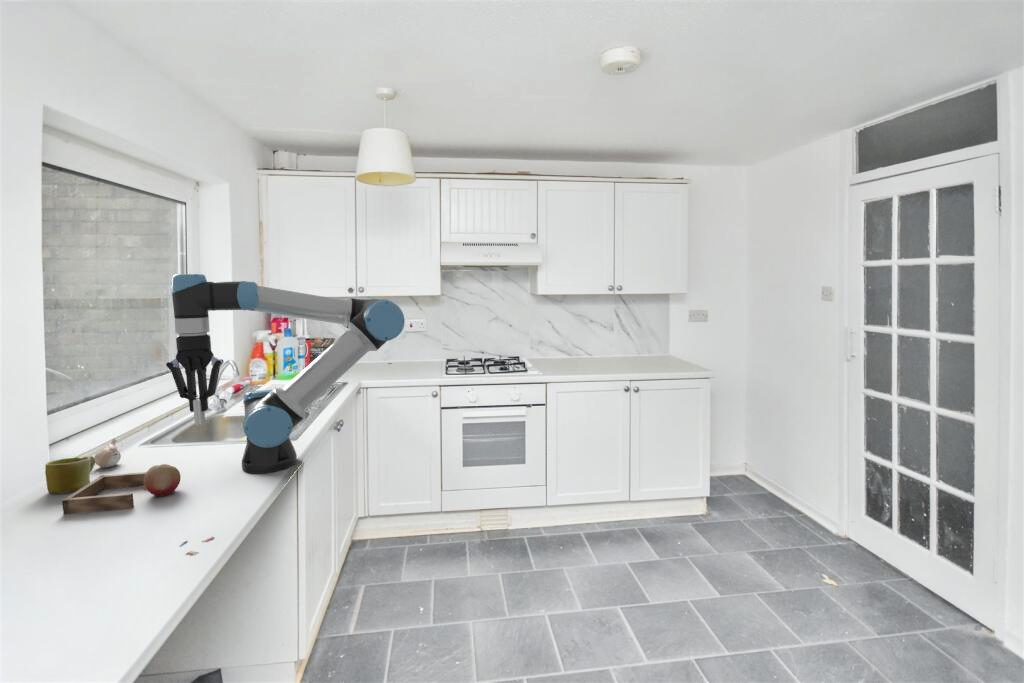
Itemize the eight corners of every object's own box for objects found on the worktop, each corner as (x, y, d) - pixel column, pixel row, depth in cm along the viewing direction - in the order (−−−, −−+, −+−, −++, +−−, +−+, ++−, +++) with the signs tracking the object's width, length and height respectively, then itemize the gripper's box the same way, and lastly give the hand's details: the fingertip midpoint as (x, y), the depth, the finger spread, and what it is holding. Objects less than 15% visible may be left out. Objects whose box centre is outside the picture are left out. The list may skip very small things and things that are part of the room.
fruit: (189, 489, 136) (186, 461, 136) (159, 502, 129) (157, 471, 128) (167, 486, 139) (165, 457, 138) (137, 497, 132) (134, 468, 131)
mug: (65, 492, 131) (60, 454, 132) (36, 501, 133) (32, 463, 134) (113, 483, 142) (108, 448, 144) (86, 492, 145) (81, 457, 146)
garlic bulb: (125, 465, 156) (123, 439, 155) (100, 471, 150) (97, 445, 149) (116, 461, 159) (114, 436, 158) (91, 467, 154) (88, 442, 153)
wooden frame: (162, 483, 141) (160, 471, 141) (131, 508, 125) (130, 494, 125) (102, 487, 138) (101, 475, 138) (63, 514, 122) (61, 500, 122)
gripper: (225, 332, 136) (232, 418, 139) (171, 333, 134) (178, 421, 136) (215, 334, 129) (222, 425, 132) (157, 336, 126) (165, 428, 129)
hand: (200, 423), depth 134 cm, fingers closed
